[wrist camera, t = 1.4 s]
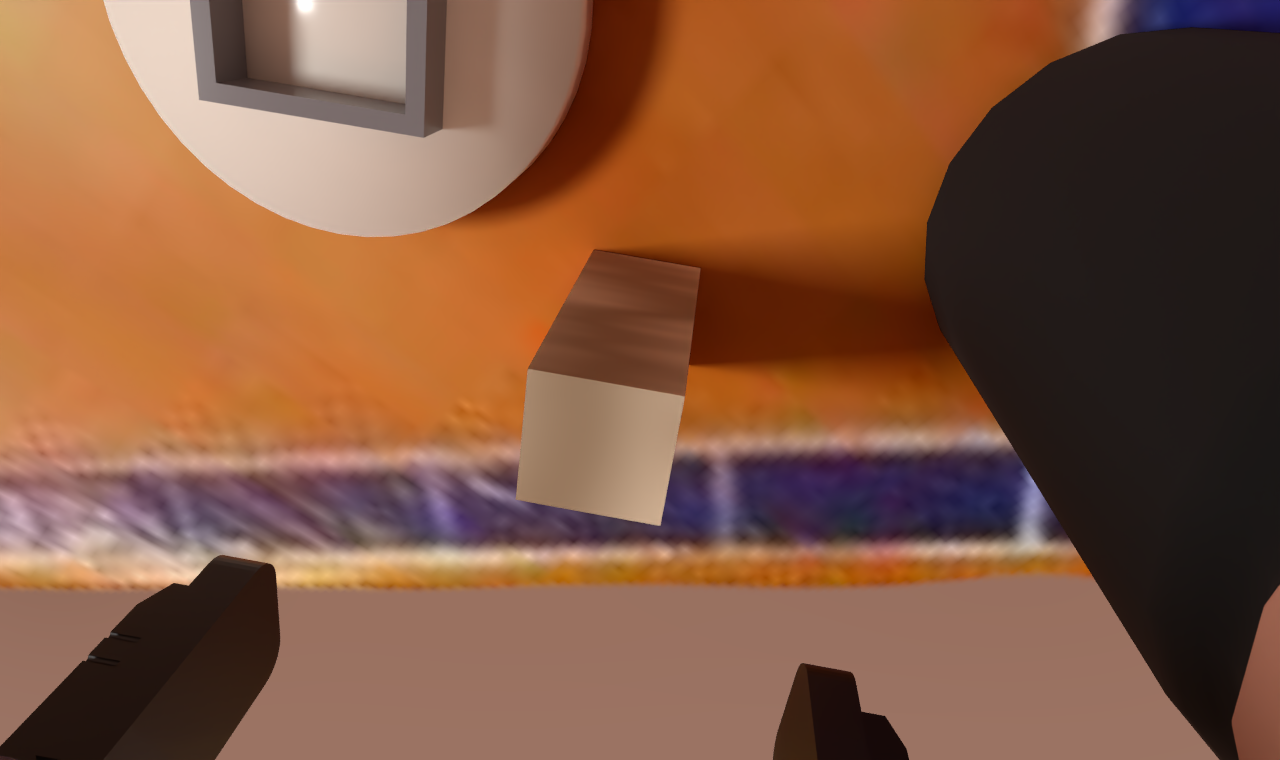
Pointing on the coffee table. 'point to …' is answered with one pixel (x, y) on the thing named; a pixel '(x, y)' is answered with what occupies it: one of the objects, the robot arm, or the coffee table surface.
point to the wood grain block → (610, 390)
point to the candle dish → (360, 98)
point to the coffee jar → (1140, 341)
